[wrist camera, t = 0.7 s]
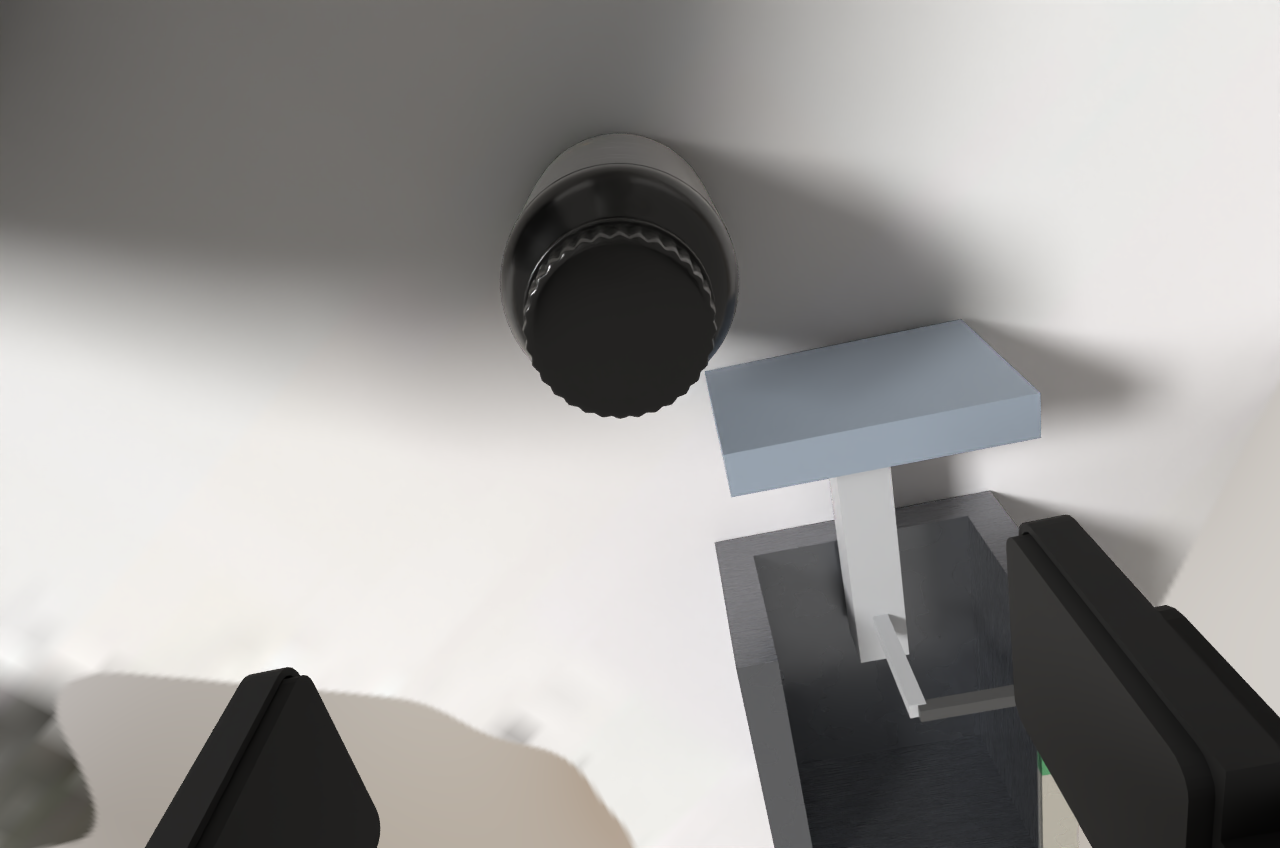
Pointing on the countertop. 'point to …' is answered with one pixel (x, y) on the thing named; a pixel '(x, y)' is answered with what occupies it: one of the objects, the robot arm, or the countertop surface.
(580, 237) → the supplement bottle
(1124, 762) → the robot arm
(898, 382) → the gauge plunger
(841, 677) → the box
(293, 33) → the countertop surface
